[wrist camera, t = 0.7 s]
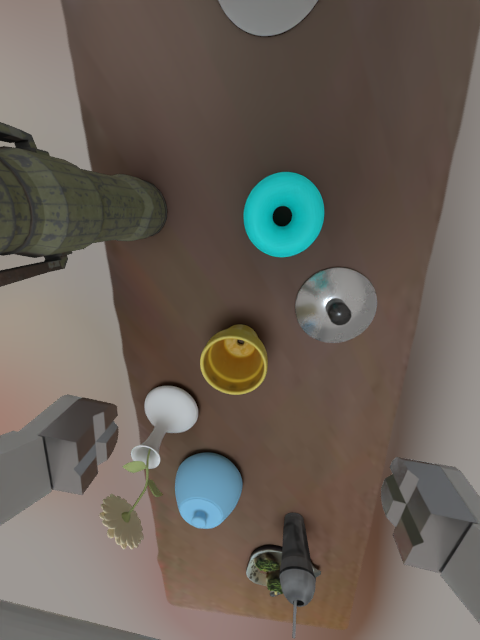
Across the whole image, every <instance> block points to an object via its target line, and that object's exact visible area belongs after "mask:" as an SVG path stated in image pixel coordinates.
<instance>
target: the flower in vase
mask: <svg viewBox="0 0 480 640" xmlns="http://www.w3.org/2000/svg"><path fill="white" fill-rule="evenodd" d="M145 413H146V415H147V417H148V419H149V420H150V422H151V423H152V424H153V425H154V426H155V428H154V430H153V432H152V433H151V435H150V436H149V437H148V439H147V440H146V441H145V442H144V443H143V444H141V445H138V446H136V447H134V448H133V450H132V451H131V457H132V459H133V462H130V463H127V464H126V465H124V466H123V468H125V469H126V470H128V471H130V472H138V471H141V470H143V469H145V468H146V484H145V488H144V490H143V492H142V493H141V495H140V496H139V498H138V499H137V501H136V502H135V504H134V505H133V507H132V506H131V505H130V504H129V503H127V501H126V500H125V499H121V497H119V496H117V497H116V496H115V495H113V494H110V497H109V496H108V497H107V498H106V499H103V503H104V504H101V508H102V509H103V511H104V512H102V513H100V517H101V519H103V521H102V523H103V525H105V526H108V528H109V529H108V532H107V535H108V537H109V538H113V537H115V540H116V543H117V544H118V545H121V547H122V549H125V548H126V546H127V545H128V546H129V547H130V548H131V549H133V548H134V546H135V547H136V548H137V547H138V543H139V544H140V543H141V540H143V533H142V532H141V531H142V526H141V521H140V519H139V518H138V517H137V513H136V511H134V510H133V509H134V507H135V506H136V505H137V503H138V502H139V500H140V498H141V497H142V496H143V494H144V492H145V490H146V488H147V485H149V487H150V489H151V491H152V493H153V494H154V496H156V497H159V496H162V495H163V494H162V493H161V492H160V491H159V490H158V489H157V487H156V485H155V483H154V482H153V480H148V469H151V468H155V467H157V466H158V465H159V463H160V456H159V447H160V444H161V441H162V439H163V437H164V435H165V433H166V432H168V433H180V432H184V431H186V430H188V429H189V428H191V427H192V426H193V425H194V424H195V423H196V421H197V419H198V407H197V404H196V402H195V400H194V399H193V398H192V396H191V395H190V394H189V393H187V392H186V391H185V390H183V389H181V388H178V387H175V386H160V387H157V388H155V389H153V390H152V391H150V392H149V394H148V395H147V397H146V399H145Z"/></svg>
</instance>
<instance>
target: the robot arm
mask: <svg viewBox="0 0 480 640" xmlns="http://www.w3.org/2000/svg"><path fill="white" fill-rule="evenodd" d="M218 1H219V3H220V5H221V7H222V9H223V10H224V12H225V14H226V15H227V16H228V18H229V19H230V20H231V21H232V22H233V23H234V24H235V25H237V26H238V27H239V28H241V29H242V30H244V31H246V32H248V33H250V34H254V35H258V36H272V35H277V34H280V33H283V32H285V31H287V30H289V29H291V28H292V27H294V26H295V25H297V24H298V23H299V22H300V21H301V20H303V19H304V18H305V17H306V16H307V15H308V13H309V12H310V11H311V10H312V8H313V7H314V6H315V4H316V3H317V1H318V0H218ZM117 415H118V414H117V406H116V405H114V404H111V403H107V402H102V401H97V400H93V399H88V398H81V397H77V396H72V395H64V396H62V397H60V398H59V399H58V400H57V401H55V402H54V403H53V404H52V405H51V406H49V407H48V408H47V409H46V410H44V411H43V412H42V413H41V414H40V415H38V416H37V417H36V418H35V419H33V420H32V421H31V422H30V423H28V424H27V425H26V426H25V427H24V428H22V429H21V430H20V431H19V432H15V431H12V432H9V433H6V434H3V435H1V436H0V526H1V525H2V524H4V523H5V522H7V521H8V520H10V519H11V518H13V517H14V516H15V515H17V514H19V513H20V512H21V511H23V510H25V509H26V508H28V507H29V506H31V505H32V504H33V503H35V502H37V501H38V500H40V499H41V498H43V497H44V496H46V495H47V494H49V493H50V492H51V491H52V490H57V491H63V492H68V493H74V494H79V495H83V493H84V492H85V491H86V489H87V488H88V486H89V485H90V484H91V482H92V481H93V479H94V478H95V477H96V475H97V474H98V468H97V466H98V465H99V464H101V463H103V462H104V461H106V460H108V458H109V457H110V455H111V454H112V452H113V450H114V447H115V445H116V443H117V439H118V426H117V425H116V424H115V422H114V421H113V420H114V419H115V418H116V417H117ZM390 469H391V471H392V473H393V474H392V475H390V476H389V477H387V478H386V479H385V480H384V482H383V485H382V489H381V490H382V491H381V499H382V505H383V509H384V512H385V515H386V517H387V518H388V519H389V521H390V522H391V523H392V524H393V525H394V526H395V530H394V533H393V537H394V539H395V542H396V545H397V547H398V550H399V553H400V555H401V558H402V561H403V564H405V565H409V566H413V567H417V568H421V569H425V570H430V571H433V572H437V573H441V575H440V576H441V577H442V578H443V579H444V581H445V582H446V583H447V584H448V586H449V587H450V588H451V589H452V591H453V592H454V593H455V594H456V595H457V597H458V598H459V599H460V600H461V602H462V603H463V604H464V605H465V607H466V608H467V609H468V610H469V611H470V613H471V614H472V615H473V616H474V618H475V619H476V620H477V621H478V623H479V624H480V496H479V495H478V494H477V492H476V491H475V490H474V488H473V487H472V486H471V485H470V483H469V482H468V480H467V479H466V477H465V476H464V475H463V473H462V472H461V471H460V470H458V469H457V468H456V467H452V466H446V465H440V464H432V463H427V462H422V461H416V460H411V459H405V458H400V457H396V458H395V459H394V460H393V461H392V463H391V465H390ZM51 489H52V490H51ZM0 640H159V639H155V638H151V637H147V636H143V635H140V634H136V633H132V632H128V631H123V630H119V629H116V628H112V627H108V626H104V625H100V624H96V623H92V622H88V621H84V620H80V619H76V618H72V617H68V616H63V615H60V614H56V613H52V612H48V611H44V610H40V609H36V608H32V607H28V606H24V605H20V604H16V603H12V602H8V601H4V600H0Z"/></svg>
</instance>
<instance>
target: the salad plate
mask: <svg viewBox="0 0 480 640" xmlns="http://www.w3.org/2000/svg"><path fill="white" fill-rule="evenodd" d="M281 562H282V547H280V546H274V545H266V546H262V547H259V548H258V549H256V550H255V551H254V552H253V553H252V555H251V558H250V561H249V564H248V567H247V571H246V574H247V576H248V578H249V579H250V580H251V581H252V582H254V583H256V584H260V585H264V586H267V587H268V590H270V591H271V592H270V596H272V597H274V596H277V595H279V594H282V593H283V591H282V588H281V584H280V578H279V573H280V567H281ZM311 564H312V563H311ZM312 567H313V571H314V575H315V578H316V577H317V576H319V575H320V574H321V571H319V570H317V569H316V568H315V567H314V566H313V564H312ZM257 568H259V569H260V571H262V570H264V572H265V571H266V572H268V573H267V574H262V573H260V572H259V571H258V569H257Z"/></svg>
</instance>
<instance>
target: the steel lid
mask: <svg viewBox="0 0 480 640" xmlns="http://www.w3.org/2000/svg"><path fill="white" fill-rule="evenodd" d="M376 309H377V297H376V293H375V290H374V288H373V286H372V284H371V283H370V282H369V280H368V279H367V278H366V277H364V276H363V275H362V274H360V273H359V272H357V271H355V270H352V269H349V268H344V267H333V268H328V269H324V270H322V271H319V272H317V273H316V274H314V275H312V276H311V277H310V278H309V279H308V280H307V281H306V282H305V283H304V284H303V285H302V287H301V288H300V290H299V292H298V294H297V297H296V302H295V311H296V317H297V320H298V322H299V324H300V326H301V327H302V329H303V330H304V331H305V332H306V333H307V334H308V335H310V336H311V337H313V338H315V339H317V340H319V341H323V342H328V343H338V342H344V341H347V340H350V339H352V338H354V337H356V336H358V335H359V334H361V333H362V332H363V331H364V330H365V329H366V328H367V327H368V326H369V325H370V323H371V322H372V320H373V318H374V316H375V313H376Z"/></svg>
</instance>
